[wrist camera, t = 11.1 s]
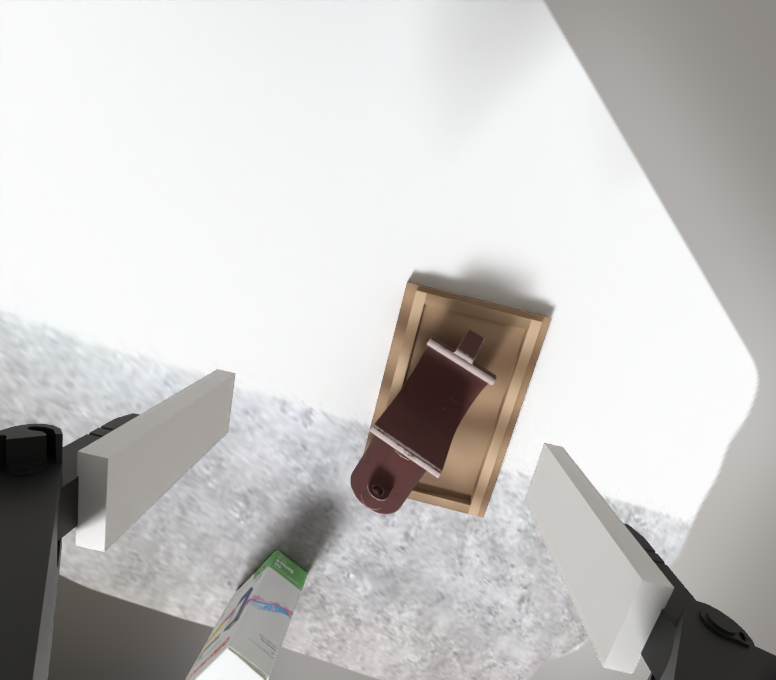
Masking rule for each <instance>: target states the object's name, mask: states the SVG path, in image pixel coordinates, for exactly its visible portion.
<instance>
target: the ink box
mask: <svg viewBox="0 0 776 680" xmlns="http://www.w3.org/2000/svg"><path fill="white" fill-rule="evenodd" d="M307 575H308V573H307V572H306V571H304V570H303V569H302V568H300V567H299V566H298V565H297V564H295V563H294V562H293V561H291V560H290V559H289V558H288V557H286V556H285V555H284V554H282V553H281V552H280V551H278V550H276V551H275V552H274V553H273V554H272V555H271V556H270V557H269V558H268V559H267V560H266V561H265V562H264V563H263V564H262V565H261V566H260V568H259V569H258V570H257V571H256V572H255V573H254V574H253V575H252V576H251V577H250V578H249V579H248V580H247V581H246V582H245V583H244V584H243V585H242V586H241V587H240V589H239V590H238V591H236V592H235V593H234V595H233V597H232V598H231V600H230V602H229V603H228V605H227V607H226V609H225V610H224V612H223V614H222V616H221V617H220V619H219V621H218V623H217V624H216V626H215V628H214V630H213V632H212V633H211V635H210V637H209V639H208V640H207V642H206V644H205V646H204V648H203V650H202V651H201V653H200V655H199V657H198V658H197V660H196V662H195V664H194V665H193V667H192V669H191V671H190V672H189V674H188V676H187V678H186V680H269V678H270V675H271V672H272V670H273V667H274V664H275V661H276V658H277V656H278V653H279V650H280V647H281V645H282V642H283V639H284V637H285V634H286V631H287V628H288V626H289V623H290V620H291V617H292V615H293V612H294V609H295V607H296V604H297V601H298V599H299V596H300V593H301V590H302V587H303V585H304V582H305V579H306V577H307Z"/></svg>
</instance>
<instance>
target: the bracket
mask: <svg viewBox="0 0 776 680" xmlns="http://www.w3.org/2000/svg"><path fill="white" fill-rule="evenodd" d="M484 339H485V338H483V337H481V336H480V335H478V334H477V333H475V332H473V331H472V330H470V329H469V330H468V331H467V333H466V334H465V336H464V337H463V339H462V340H461V342H460V343H459V345H458V347H457V348H456V349H453V348H452V347H450V346H448V345H447V344H445V343H444V342H442V341H440V340H439V339H437V338H436V337H434V336H432V337H431V338H430V340H429V341H428V343H427V345H428V346H427V348H426V350H425V352H424V353H423V355H422V357H421V359H420V360H419V362H418V364H417V365H416V367H415V368H414V370H413V372H412V373H411V375H410V376H409V378H408V379H407V381H406V382H405V384H404V385H403V387H402V388H401V390H400V391H399V393H398V394H397V395H396V397H395V398H394V400H393V401H392V402H391V403H390V405H389V406H388V407H387V408H386V410H385V411H384V412H383V413H382V415H381V416H380V417H379V418H378V420H377V421H376V422H375V424H374V425H373V426H372V428H371V429H370V432H371V433H373V434H374V435H375V437H374V438H373V440H372V442H371V443H370V445H369V447H368V448H367V450H366V451H365V453H364V455H363V456H362V458H361V460H360V461H359V463H358V465H357V466H356V468H355V469H354V471H353V473H352V475H351V487H352V490H353V492H354V494H355V495H356V497H357V498H358V500H359V501H360V502H361V503H362V504H363V505H365V506H366V507H367V508H369V509H370V510H372V511H374V512H377V513H381V514H391V513H394V512H396V511H397V510H398V509H399V508H400V507H401V506H402V504H403V503H404V501H405V500H406V499H407V497H408V496H409V494H410V493H411V492H412V490H413V489H414V487H415V486H416V485H417V483H418V482H419V480H420V479H421V478H422V476H423V475H424V473H425V472H426V471H428V472H429V473H431V474H432V475H434V476H435V477H437V478H439V476H440V475H441V473H442V471H443V468H444V465H445V461H446V458H447V455H448V452H449V449H450V446H451V443H452V440H453V437H454V435H455V432H456V430H457V428H458V426H459V425H460V423H461V421H462V419H463V417H464V416H465V414H466V412H467V411H468V409H469V408H470V406H471V405H472V403H473V402H474V400H475V399H476V398H477V396H478V395H479V394H480V392H481V391H482V390H483V389H484V388H485V387H486V386H487V385H488V384H490V385H493V384H494V383H495V381H496V375H495V374H493V373H492V372H490V371H489V370H487V369H485V368H484V367H482V366H480V365H479V364H477V363H476V362H474V359H475V357H476V355H477V353H478V351H479V349H480V347H481V345H482V343H483V341H484Z"/></svg>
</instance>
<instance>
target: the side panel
mask: <svg viewBox="0 0 776 680" xmlns="http://www.w3.org/2000/svg"><path fill="white" fill-rule="evenodd" d="M550 321H551V318H549V317H546V316H542V315H538V314H534V313H530V312H526V311H522V310H518V309H514V308H510V307H506V306H502V305H498V304H494V303H490V302H486V301H482V300H478V299H474V298H470V297H466V296H462V295H458V294H454V293H450V292H446V291H442V290H438V289H434V288H430V287H426V286H422V285H418V284H414V283H410V282H407V285H406V289H405V293H404V297H403V301H402V305H401V309H400V313H399V317H398V321H397V324H396V328H395V332H394V336H393V340H392V344H391V348H390V352H389V356H388V360H387V364H386V368H385V372H384V376H383V380H382V384H381V388H380V392H379V396H378V400H377V404H376V408H375V412H374V416H373V420H372V423H371V427H370V429H371V428H372V426H373V425H374V424H375V422H376V421H377V420H378V418H379V417H380V416H381V415H382V413H383V412H384V411H385V410H386V408H387V407H388V406H389V405H390V403H391V402H392V401H393V400H394V398H395V397H396V395H397V394H398V393H399V391H400V390H401V388H402V387H403V385H404V384H405V382H406V381H407V379H408V378H409V376H410V375H411V373H412V372H413V370H414V368H415V367H416V365H417V364H418V362H419V360H420V359H421V357H422V355H423V353H424V352H425V350H426V348H427V346H428V345H427V343H428V341H429V340H430V338H431V337H432V336H434V337H436V338H437V339H439V340H440V341H442V342H444V343H445V344H447V345H448V346H450V347H452V348H453V349H456V348H457V347H458V345H459V343H460V342H461V340H462V339H463V337H464V336H465V334H466V333H467V331H468V330H469V329H470V330H472V331H473V332H475V333H477V334H478V335H480V336H481V337H483V338H485V339H484V341H483V343H482V345H481V347H480V349H479V351H478V353H477V355H476V357H475V359H474V362H476V363H477V364H479V365H480V366H482V367H484V368H485V369H487V370H489V371H490V372H492V373H493V374H495V375H496V381H495V383H494V384H493V385H490V384H488V385H487V386H486V387H485V388H484V389H483V390H482V391H481V392H480V394H479V395H478V396H477V398H476V399H475V400H474V402H473V403H472V405H471V406H470V408H469V409H468V411H467V412H466V414H465V416H464V417H463V419H462V421H461V423H460V425H459V426H458V428H457V430H456V432H455V435H454V437H453V440H452V443H451V446H450V449H449V452H448V455H447V458H446V461H445V465H444V468H443V471H442V473H441V475H440V476H439V478H437V477H435V476H434V475H432V474H431V473H429V472H428V471H426V472H425V473H424V475H423V476H422V478H421V479H420V480H419V482H418V483H417V485H416V486H415V487H414V489H413V490H412V492H411V493H410V494H409V496H408V497H407V498H408V499H412V500H416V501H420V502H424V503H428V504H432V505H436V506H440V507H443V508H447V509H451V510H455V511H459V512H463V513H467V514H471V515H475V516H480V517H484V515H485V512H486V509H487V506H488V503H489V500H490V497H491V494H492V491H493V489H494V486H495V483H496V480H497V477H498V474H499V471H500V468H501V465H502V462H503V459H504V456H505V453H506V450H507V447H508V444H509V441H510V438H511V436H512V433H513V430H514V427H515V424H516V421H517V418H518V415H519V412H520V409H521V406H522V403H523V400H524V397H525V394H526V391H527V388H528V386H529V383H530V380H531V377H532V374H533V371H534V368H535V365H536V362H537V359H538V356H539V353H540V350H541V347H542V344H543V341H544V338H545V336H546V333H547V330H548V327H549V324H550ZM374 437H375V435H374V434H373V433H371V432H370V431H369V435H368V439H367V443H366V447H365V451H366V450H367V448H368V447H369V445H370V443H371V442H372V440H373V438H374ZM365 451H364V453H365Z"/></svg>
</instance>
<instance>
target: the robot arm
mask: <svg viewBox="0 0 776 680" xmlns="http://www.w3.org/2000/svg"><path fill="white" fill-rule="evenodd" d="M234 380H235V373H232V372H227V371H223V370H218V369H217V370H215V371H214V372H212V373H210V374H209V375H207V376H205V377H204V378H202V379H200V380H198V381H197V382H195V383H193V384H192V385H190V386H188V387H186V388H185V389H183V390H181V391H180V392H178V393H176V394H175V395H173V396H171V397H169V398H168V399H166V400H164V401H163V402H161V403H159V404H157V405H156V406H154V407H152V408H151V409H149V410H147V411H146V412H144V413H142V414H140V415H139V414H134V413H133V414H129V415H126V416H123V417H119V418H116V419H114V420H112V421H110V422H108V423H106V424H105V425H103V426H101V428H97V429H96V430H94V431H92V432H90V434H89V435H88V434H87V435H85V436H83V437H81V438H79V439H77V440H76V441H74V442H72V443H70V444H68V445H67V446H65V447H63V448H62V441H63V434H62V431H61V429H60V428H58V427H56V426H54V425H47V424H26V425H20V426H14V427H11V428H7V429H4V430H1V431H0V680H48V672H49V662H50V652H51V644H52V634H53V625H54V615H55V605H56V596H57V587H58V578H59V568H60V559H61V549H62V537H63V536H65V535H66V534H67V533H68V532H70V531H71V530H72V529H73V528H75V527H76V545H77V546H81V547H85V548H90V549H94V550H98V551H103V552H105V551H106V550H107V549H108V548H109V547H110V546H111V545H112V544H113V543H114V542H115V541H116V540H117V539H118V538H119V537H120V536H121V535H122V534H123V533H124V532H126V531H127V530H128V529H129V528H130V527H131V526H132V525H133V524H134V523H135V522H136V521H137V520H138V519H139V518H140V517H141V516H142V515H143V514H144V513H145V512H146V511H147V510H148V509H149V508H150V507H151V506H152V505H153V504H154V503H156V502H157V501H158V500H159V499H160V498H161V497H162V496H163V495H164V494H165V493H166V492H167V491H168V490H169V489H170V488H171V487H172V486H173V485H174V484H175V483H176V482H177V481H178V480H179V479H180V478H181V477H182V476H183V475H185V474H186V473H187V472H188V471H189V470H190V469H191V468H192V467H193V466H194V465H195V464H196V463H197V462H198V461H199V460H200V459H201V458H202V457H203V456H204V455H205V454H206V453H207V452H208V451H209V450H210V449H211V448H212V447H213V446H215V445H216V444H217V443H218V442H219V441H220V440H221V439H222V438H223V437H224V436H225V435H226V434H227V433H228V429H229V421H230V413H231V405H232V396H233V388H234ZM525 502H526V504H527V506H528V508H529V510H530V512H531V514H532V517H533V519H534V521H535V523H536V525H537V527H538V529H539V532H540V534H541V536H542V538H543V540H544V542H545V544H546V547H547V549H548V551H549V553H550V555H551V557H552V559H553V562H554V564H555V566H556V568H557V570H558V572H559V574H560V577H561V579H562V581H563V583H564V585H565V587H566V589H567V592H568V594H569V596H570V598H571V600H572V602H573V604H574V606H575V609H576V611H577V613H578V615H579V617H580V619H581V621H582V624H583V626H584V628H585V630H586V632H587V634H588V636H589V639H590V641H591V643H592V645H593V647H594V649H595V651H596V654H597V656H598V658H599V660H600V662H601V664H602V666H603V667H604V668H608V669H612V670H617V671H621V672H625V673H630V674H633V672H634V670H635V668H636V665H637V664H638V662H639V660H640V657H641V656H643V658H644V660H645V662H646V664H647V665H648V667H649V669H650V671H651V674H650V676H649V678H648V680H776V656H775V655H773V654H771V653H769V652H766V651H764V650H762V649H760V648H758V647H755V645H754V643H753V641H752V640H751V638H750V637H749V636H748V634H747V633H746V632H745V631H744V630H743V629H742V628H741V627H740V626H739V625H738V624H737V623H736V622H734V621H733V620H732V619H730V618H729V617H728V616H726V615H725V614H723V613H722V612H721V611H719V610H717V609H715V608H713V607H711V606H710V605H707V604H705V603H702V602H698V601H696V600H695V599H694V597H693V596H692V595H691V594H690V593H689V592H688V590H687V589H686V588H685V587H684V585H683V584H682V583H681V582H680V581H679V579H678V578H677V577H676V576H675V575H674V573H673V572H672V571H671V570H670V568H669V567H668V566H667V565H665V564H664V563H665V562H664V561H663V560H662V559H661V558H660V556H659V555H658V554H656V553H655V550H654V549H653V548H652V547H651V546H650V544H649V543H648V542H647V541H646V539H645V538H644V537H643V536H641V535H640V534H639V533H638V532H637V531H635V530H634V529H633V528H632V527H631V526H629V525H628V524H624V523H623V522H622V521H621V520H620V519H619V517H618V516H617V515H616V514H615V512H614V511H613V510H612V509H611V507H610V506H609V505H608V504H607V502H606V501H605V500H604V499H603V497H602V496H601V495H600V494H599V492H598V491H597V490H596V489H595V487H594V486H593V485H592V483H591V482H590V481H589V480H588V478H587V477H586V476H585V475H584V473H583V472H582V471H581V470H580V468H579V467H578V466H577V465H576V463H575V462H574V461H573V460H572V458H571V457H570V456H569V455H568V453H567V452H566V451H565V449H564V448H563V447H560V446H556V445H551V444H547V443H544V445H543V448H542V451H541V454H540V457H539V460H538V463H537V466H536V469H535V471H534V474H533V477H532V480H531V483H530V486H529V489H528V492H527V495H526V497H525Z"/></svg>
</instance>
